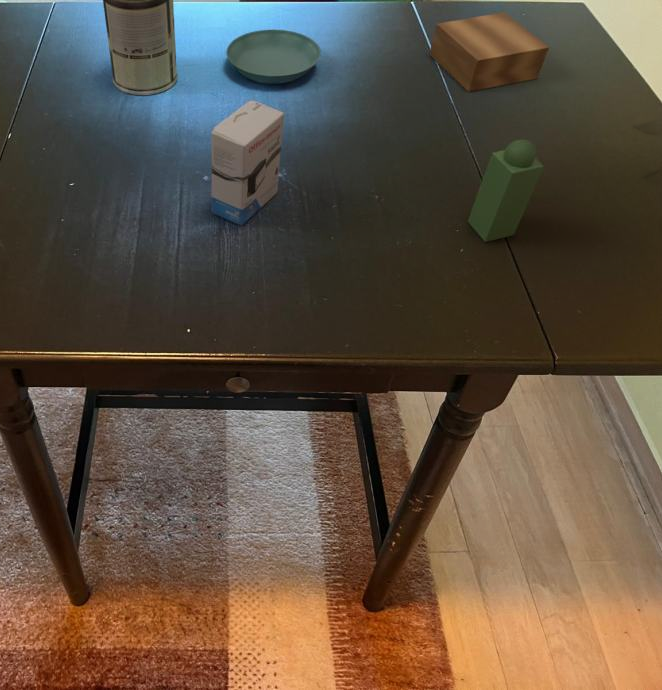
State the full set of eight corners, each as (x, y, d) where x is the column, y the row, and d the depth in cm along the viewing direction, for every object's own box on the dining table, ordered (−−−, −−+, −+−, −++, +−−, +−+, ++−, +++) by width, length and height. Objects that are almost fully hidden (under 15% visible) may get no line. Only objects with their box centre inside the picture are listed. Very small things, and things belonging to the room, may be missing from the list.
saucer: (292, 37, 115) (293, 21, 113) (336, 79, 106) (338, 62, 104) (211, 55, 112) (211, 39, 110) (250, 100, 103) (250, 83, 101)
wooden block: (494, 42, 113) (503, 12, 109) (537, 78, 106) (549, 47, 102) (428, 54, 111) (436, 23, 107) (468, 92, 104) (478, 60, 100)
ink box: (241, 227, 84) (244, 145, 75) (209, 212, 86) (208, 130, 77) (279, 192, 89) (286, 111, 80) (248, 179, 91) (252, 97, 82)
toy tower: (495, 215, 85) (530, 128, 76) (513, 235, 83) (551, 148, 73) (467, 221, 85) (498, 135, 75) (484, 242, 82) (519, 155, 73)
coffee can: (101, 72, 109) (88, -21, 98) (159, 56, 112) (153, -36, 101) (129, 103, 103) (119, 7, 92) (189, 84, 106) (186, -10, 95)
